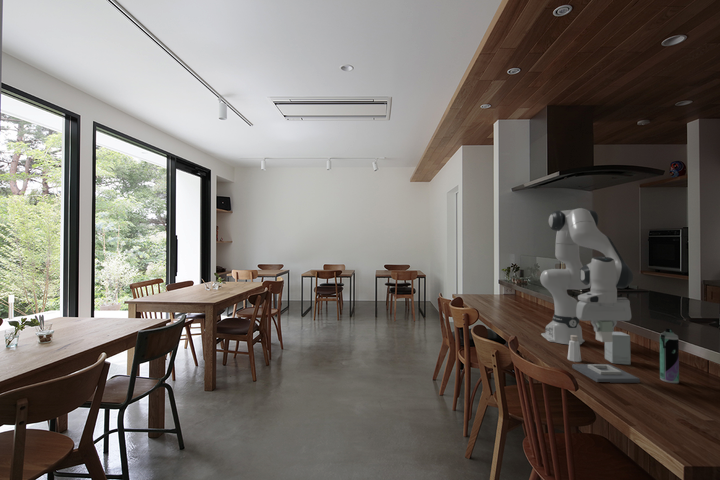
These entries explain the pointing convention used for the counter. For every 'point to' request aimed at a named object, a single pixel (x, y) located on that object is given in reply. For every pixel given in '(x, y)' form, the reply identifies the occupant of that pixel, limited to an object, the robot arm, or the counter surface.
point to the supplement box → (618, 349)
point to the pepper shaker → (574, 349)
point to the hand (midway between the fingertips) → (603, 331)
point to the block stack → (604, 331)
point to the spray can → (669, 356)
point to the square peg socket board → (605, 373)
